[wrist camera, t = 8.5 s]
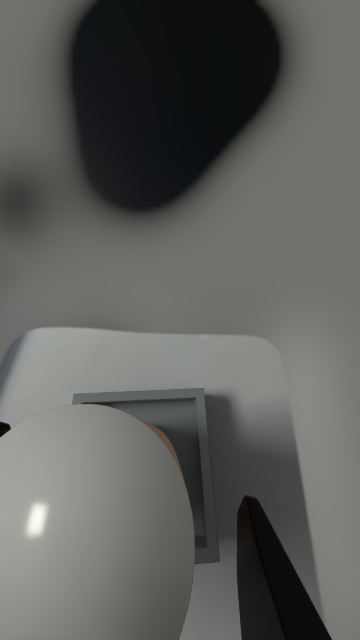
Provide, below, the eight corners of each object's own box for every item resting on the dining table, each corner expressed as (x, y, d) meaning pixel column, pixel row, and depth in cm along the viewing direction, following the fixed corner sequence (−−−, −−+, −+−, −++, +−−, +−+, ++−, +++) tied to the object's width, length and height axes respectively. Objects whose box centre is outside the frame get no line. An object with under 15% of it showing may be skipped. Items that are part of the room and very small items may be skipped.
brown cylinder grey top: (117, 529, 14) (-104, 924, 3) (93, 445, 16) (-92, 472, 5) (190, 485, 15) (247, 634, 4) (159, 411, 17) (138, 369, 6)
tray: (65, 554, 14) (45, 577, 12) (85, 398, 18) (73, 393, 16) (212, 541, 14) (219, 562, 12) (199, 393, 18) (203, 388, 16)
